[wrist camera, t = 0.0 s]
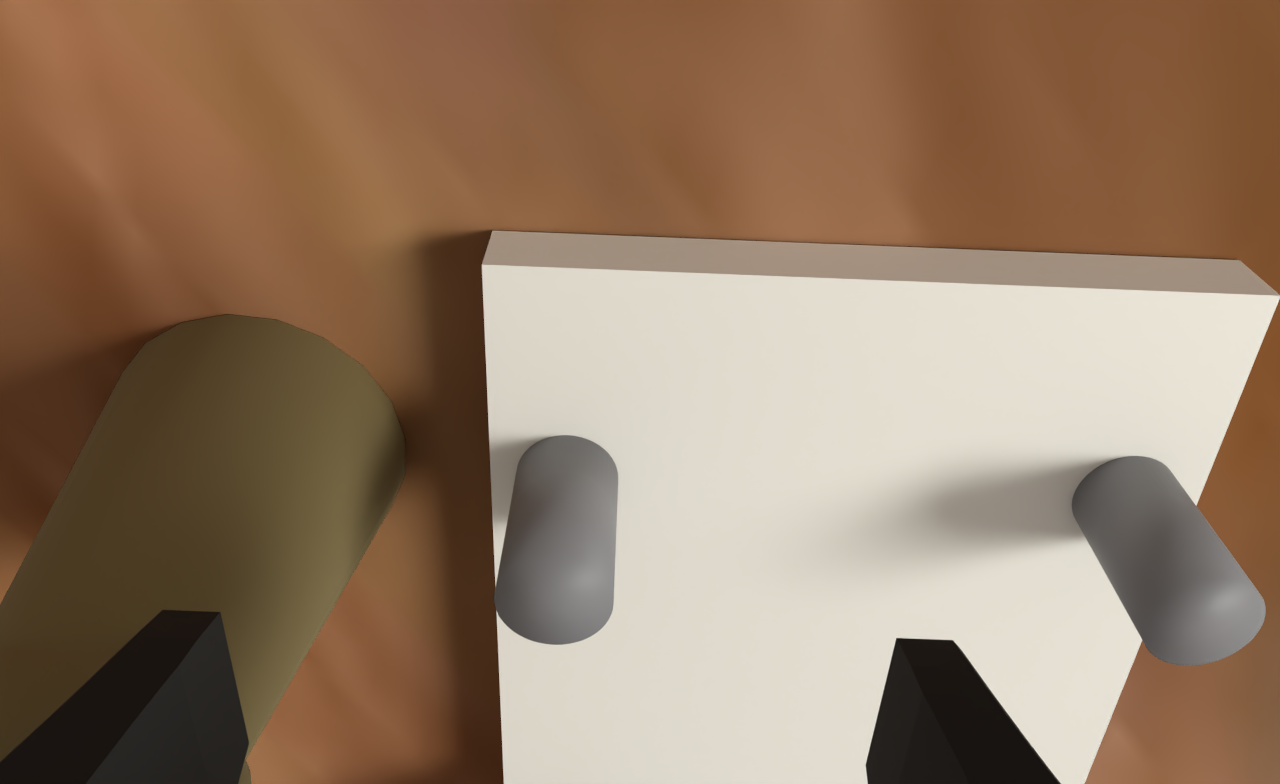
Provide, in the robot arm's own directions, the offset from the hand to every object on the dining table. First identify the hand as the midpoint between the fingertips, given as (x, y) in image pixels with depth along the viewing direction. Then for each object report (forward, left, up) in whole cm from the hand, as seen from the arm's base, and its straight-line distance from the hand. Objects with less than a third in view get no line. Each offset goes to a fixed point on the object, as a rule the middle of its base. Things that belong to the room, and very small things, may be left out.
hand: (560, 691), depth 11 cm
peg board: (-9, -5, -10) cm, 14 cm away
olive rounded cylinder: (-4, +7, -10) cm, 13 cm away
